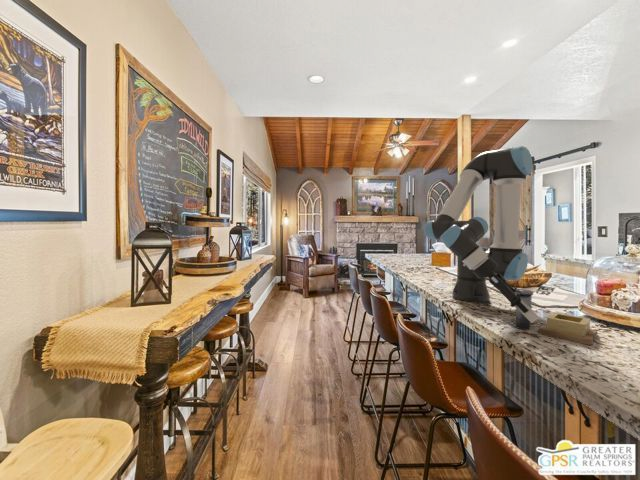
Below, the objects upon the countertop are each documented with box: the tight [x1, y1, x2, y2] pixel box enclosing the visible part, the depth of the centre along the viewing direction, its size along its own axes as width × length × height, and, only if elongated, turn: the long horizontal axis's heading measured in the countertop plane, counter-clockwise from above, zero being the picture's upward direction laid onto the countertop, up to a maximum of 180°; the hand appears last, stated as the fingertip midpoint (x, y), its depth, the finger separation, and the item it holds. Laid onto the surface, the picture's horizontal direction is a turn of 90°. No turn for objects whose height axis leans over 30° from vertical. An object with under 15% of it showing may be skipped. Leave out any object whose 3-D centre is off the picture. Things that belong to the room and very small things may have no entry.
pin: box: [514, 288, 534, 330], centre depth 100 cm, size 5×5×12 cm
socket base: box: [538, 322, 598, 346], centre depth 94 cm, size 12×12×2 cm
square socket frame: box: [546, 311, 591, 337], centre depth 94 cm, size 9×9×4 cm
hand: (532, 314), depth 99 cm, fingers open, 12 cm apart
